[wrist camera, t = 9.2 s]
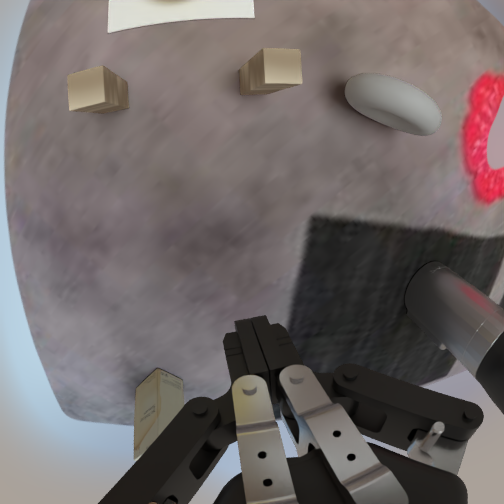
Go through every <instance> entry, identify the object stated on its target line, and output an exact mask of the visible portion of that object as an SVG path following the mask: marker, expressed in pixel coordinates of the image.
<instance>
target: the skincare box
mask: <svg viewBox="0 0 504 504" xmlns="http://www.w3.org/2000/svg"><path fill="white" fill-rule="evenodd" d="M183 406H184V395H183V381H182V379H179V378H177V377H175V376H173V375H171V374H169V373H167V372H165V371H163V370H160V369H158V368H157V369H156V370H155V371H154V372H153V373H152V374H151V375H150V376H148V377H147V378H146V379H145V380H144V381H143V382H142V383H141V384H140V385H139V386H138V387H137V388H136V396H135V417H134V461H137V460H138V459H139V458H140V457H141V456H142V454H143V453H144V452H145V451H146V450H147V449H148V448H149V446H150V445H151V444H152V443H153V442H154V441H155V440H156V438H157V437H158V436H159V435H160V434H161V433H162V431H163V430H164V429H165V428H166V427H167V426H168V424H169V423H170V422H171V421H172V420H173V418H174V417H175V416H176V415H177V414H178V412H179V411H180V410H181V409H182V408H183Z"/></svg>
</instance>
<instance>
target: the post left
mask: <svg viewBox="0 0 504 504" xmlns="http://www.w3.org/2000/svg"><path fill="white" fill-rule="evenodd" d="M68 98H69V111H78V112H91V113H102V114H104V113H108V112H113V111H117V110H122V109H127V108H129V101H128V86H127V82H126V81H125V80H123V79H122V78H120V77H119V76H118V75H116V74H115V73H113V72H112V71H110V70H109V69H108V68H106V67H105V66H99V67H95V68H91V69H87V70H83V71H80V72H76V73H73V74H70V75H68Z"/></svg>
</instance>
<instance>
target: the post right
mask: <svg viewBox="0 0 504 504" xmlns="http://www.w3.org/2000/svg"><path fill="white" fill-rule="evenodd" d="M239 76H240V92H241V95H254V94H270V93H273V92H276V91H279V90H283V89H286V88H290V87H293V86H297V85H300V84H302V70H301V55H300V50H297V49H279V48H263V49H261V50H260V51H259V52H258V53H257V54H256V55H255V56H254V57H252V58H251V59H250V60H249V61H248V62H247V63H246V64H245V65H244V66H243V67H241V68H240V69H239Z"/></svg>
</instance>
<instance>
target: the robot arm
mask: <svg viewBox="0 0 504 504" xmlns="http://www.w3.org/2000/svg"><path fill="white" fill-rule="evenodd" d="M405 305H406V307H407V310H408V312H407V316H408V317H409V318H410V319H411V320H412V321H413V322H414V323H415V324H416V325H417V326H418V327H419V328H420V329H421V330H422V331H423V332H424V333H425V334H426V335H427V336H428V337H429V338H430V339H431V340H432V341H433V342H434V343H435V344H436V345H437V346H438V347H439V348H440V349H442V350H444V349H446V348H447V349H448V350H449V351H450V352H451V353H452V354H453V355H454V356H455V357H456V358H457V359H458V360H459V361H460V362H461V364H462V365H463V366H464V367H465V368H466V369H467V370H468V371H469V372H470V373H471V374H472V375H473V376H474V377H475V378H476V380H477V381H478V382H479V383H480V384H481V385H482V386H483V388H484V389H485V391H486V392H487V394H488V395H489V397H490V398H491V399H492V401H493V402H494V403H495V404H496V405H497V407H498V408H499V409H500V410H501V412H502V413H503V414H504V309H503V308H502V307H500V306H499V305H498V304H496V303H495V302H494V301H493V300H491V299H490V298H489V297H487V296H486V295H485V294H484V293H482V292H481V291H480V290H478V289H477V288H476V287H474V286H473V285H472V284H470V283H469V282H467V281H466V280H465V279H463V278H462V277H461V276H459V275H458V274H456V273H455V272H454V271H452V270H451V269H449V268H448V267H447V266H445V265H443V264H442V263H440V262H438V261H433V262H430V263H428V264H426V265H424V266H423V267H422V268H421V269H420V270H419V271H418V272H417V273H416V274H415V275H414V277H413V278H412V280H411V281H410V283H409V285H408V288H407V290H406V294H405ZM234 322H235V329H236V332H232V333H226V334H225V337H224V340H223V345H224V350H225V355H226V360H227V365H228V369H229V374H230V378H231V387H230V389H229V390H228V392H227V393H226V394H224V395H223V396H221V397H219V398H217V399H215V400H212V399H210V398H207V397H197V398H193V399H191V400H190V401H188V402H187V403H186V404H185V405H184V406H183V408H182V409H181V410H180V411H179V412H178V414H177V415H176V416H175V417H174V418H173V420H172V421H171V422H170V423H169V424H168V426H167V427H166V428H165V429H164V430H163V431H162V433H161V434H160V435H159V436H158V437H157V438H156V440H155V441H154V442H153V443H152V444H151V445H150V446H149V448H148V449H147V450H146V451H145V452H144V453H143V454H142V456H141V457H140V458H139V459H138V460H137V461H136V462H135V464H134V465H133V466H132V467H131V468H130V469H129V470H128V471H127V472H126V474H125V475H124V476H123V477H122V478H121V479H120V480H119V481H118V483H117V484H116V485H115V486H114V487H113V488H112V489H111V490H110V491H109V492H108V493H107V494H106V495H105V496H104V498H103V499H102V500H101V501H100V502H99V503H98V504H188V503H189V502H190V501H191V499H192V498H193V496H194V495H195V494H196V492H197V491H198V490H199V488H200V487H201V486H202V484H203V482H204V481H205V480H206V478H207V477H208V476H209V474H210V473H211V471H212V470H213V469H214V467H215V466H216V464H217V463H218V461H219V460H220V458H221V457H222V456H223V454H224V453H225V451H226V450H227V448H228V445H229V444H231V443H234V442H236V441H238V448H239V455H240V463H241V470H242V472H241V473H240V474H238V475H236V476H235V477H233V478H232V479H231V480H230V481H229V482H228V483H227V484H226V485H225V486H224V487H223V489H222V490H221V492H220V494H219V495H218V497H217V498H216V500H215V502H214V503H213V504H468V501H467V499H468V494H467V489H466V486H465V484H464V482H463V481H462V480H461V479H460V478H459V477H458V476H457V474H458V471H459V468H460V465H461V462H462V459H463V456H464V453H465V449H466V446H467V442H468V440H469V439H470V438H471V436H472V435H473V434H474V433H475V431H476V430H477V429H478V428H479V426H480V425H481V424H482V422H483V418H484V415H483V411H482V409H481V408H480V407H479V406H478V405H476V404H475V403H472V402H468V401H465V400H462V399H458V398H455V397H451V396H448V395H445V394H442V393H438V392H435V391H432V390H429V389H425V388H422V387H419V386H416V385H413V384H410V383H407V382H404V381H401V380H398V379H395V378H393V377H390V376H387V375H384V374H381V373H378V372H376V371H373V370H370V369H367V368H365V367H362V366H359V365H356V364H350V363H349V364H343V365H341V366H339V367H338V368H337V369H336V370H335V371H334V373H316V372H313V371H311V370H310V369H309V368H308V367H306V366H304V364H303V362H302V360H301V358H300V356H299V354H298V352H297V350H296V348H295V346H294V344H293V343H292V340H291V338H290V337H289V334H288V332H287V330H286V329H285V328H284V327H283V326H281V325H280V324H279V323H276V324H272V325H270V324H269V322H268V319H267V317H266V315H264V316H258V317H253V318H249V319H243V320H238V321H234ZM271 402H272V404H276V403H278V404H279V406H280V409H281V418H282V420H283V422H284V424H285V426H286V428H287V430H288V433H289V435H290V437H291V439H292V441H293V443H294V445H295V447H296V449H297V453H298V457H293V458H286V455H285V452H284V447H283V443H282V439H281V435H280V431H279V427H278V424H277V422H276V421H275V417H274V413H273V409H272V405H271ZM361 434H362V435H365V436H367V437H370V438H372V439H375V440H378V441H381V442H383V443H386V444H389V445H391V446H394V447H396V448H399V449H402V450H405V451H407V454H408V456H409V458H408V457H405V456H403V455H400V454H398V453H395V452H393V451H390V450H388V449H385V448H383V447H381V446H378V445H376V444H373V443H369V442H366V441H365V440H364V438H363V437H362V435H361Z"/></svg>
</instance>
